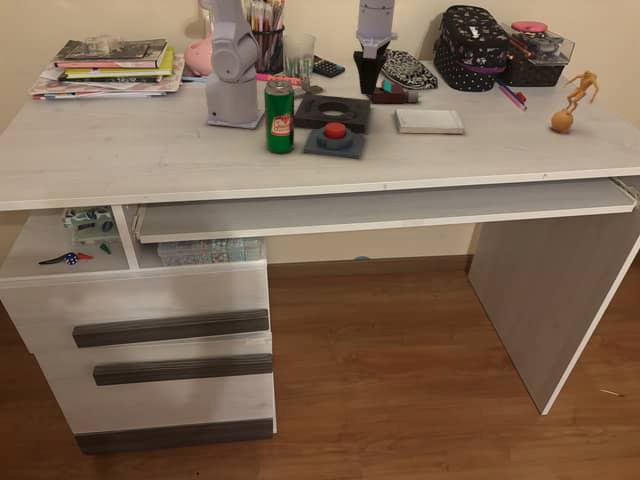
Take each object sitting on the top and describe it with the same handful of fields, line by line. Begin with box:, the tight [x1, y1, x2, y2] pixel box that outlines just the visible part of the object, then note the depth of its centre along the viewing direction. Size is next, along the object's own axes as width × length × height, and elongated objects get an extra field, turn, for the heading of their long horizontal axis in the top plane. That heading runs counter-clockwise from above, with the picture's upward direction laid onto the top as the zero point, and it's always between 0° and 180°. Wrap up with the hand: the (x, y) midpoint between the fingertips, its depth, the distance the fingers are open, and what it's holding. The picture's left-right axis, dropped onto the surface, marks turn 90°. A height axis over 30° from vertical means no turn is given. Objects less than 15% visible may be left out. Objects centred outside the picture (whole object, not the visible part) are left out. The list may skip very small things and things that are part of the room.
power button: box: [325, 123, 345, 139], centre depth 93 cm, size 4×4×2 cm
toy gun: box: [367, 78, 422, 104], centre depth 112 cm, size 10×12×5 cm
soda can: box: [263, 78, 295, 154], centre depth 89 cm, size 5×5×12 cm
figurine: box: [550, 69, 600, 132], centre depth 99 cm, size 8×6×12 cm
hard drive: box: [393, 108, 465, 135], centre depth 102 cm, size 2×8×12 cm
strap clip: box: [293, 73, 324, 100], centre depth 112 cm, size 8×3×4 cm, turn 129°
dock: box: [294, 93, 372, 135], centre depth 103 cm, size 14×12×2 cm
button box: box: [303, 127, 365, 160], centre depth 94 cm, size 10×8×2 cm
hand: (369, 85), depth 92 cm, fingers open, 7 cm apart
